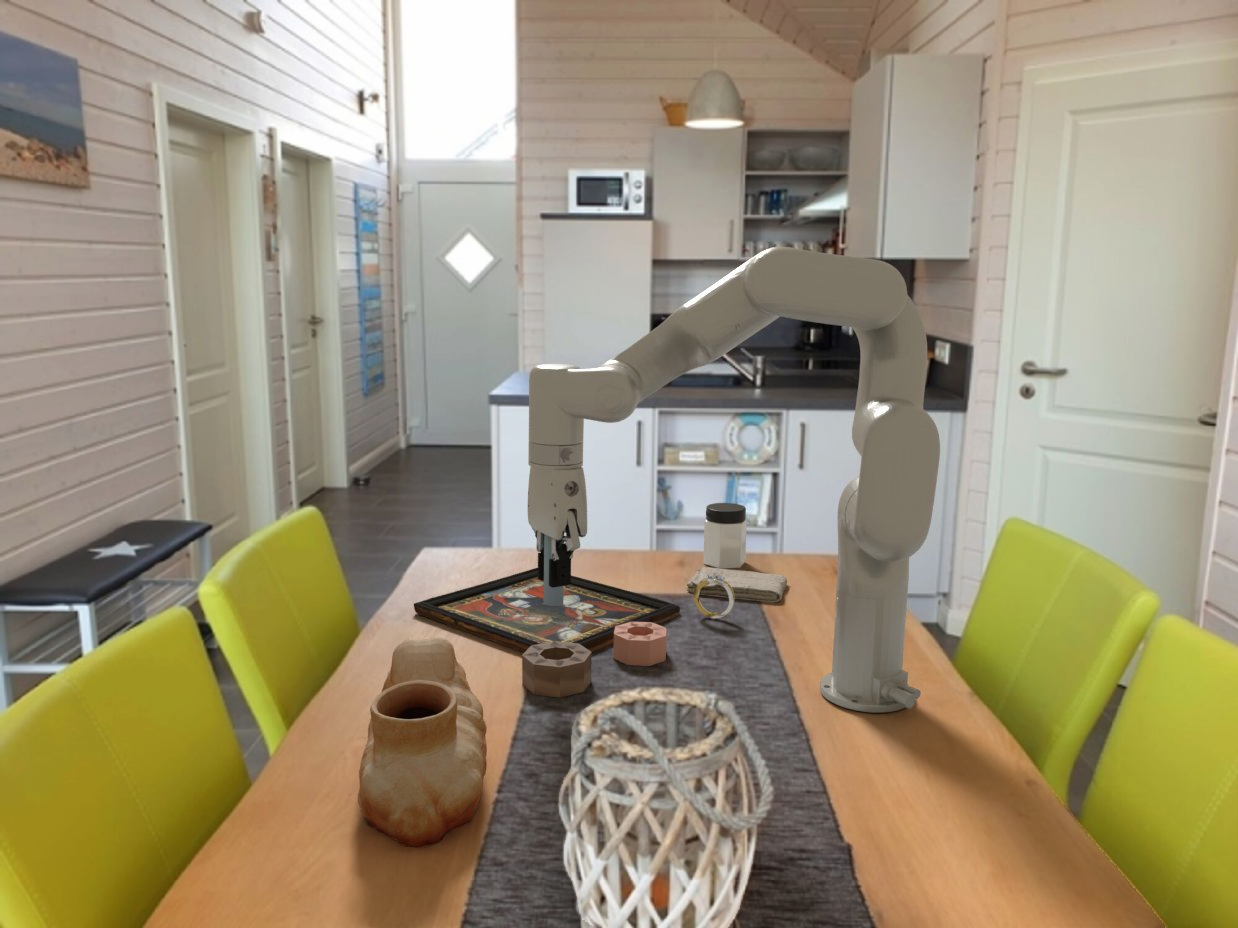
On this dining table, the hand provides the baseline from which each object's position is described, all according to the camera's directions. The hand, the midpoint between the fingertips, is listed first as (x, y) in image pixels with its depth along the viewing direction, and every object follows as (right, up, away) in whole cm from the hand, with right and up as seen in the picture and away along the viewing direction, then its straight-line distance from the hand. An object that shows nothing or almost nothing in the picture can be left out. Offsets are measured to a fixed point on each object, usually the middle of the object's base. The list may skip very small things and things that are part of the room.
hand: (554, 581), depth 135 cm
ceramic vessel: (-13, -21, -26) cm, 35 cm away
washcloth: (+32, -8, +47) cm, 57 cm away
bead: (0, -15, +3) cm, 15 cm away
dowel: (0, -3, +1) cm, 3 cm away
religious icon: (-3, -10, +32) cm, 34 cm away
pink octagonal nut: (+12, -13, +13) cm, 23 cm away
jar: (+31, -4, +63) cm, 71 cm away
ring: (+25, -10, +30) cm, 41 cm away
